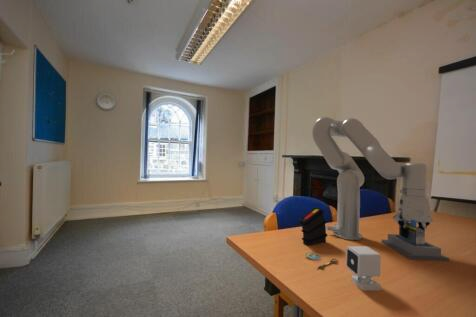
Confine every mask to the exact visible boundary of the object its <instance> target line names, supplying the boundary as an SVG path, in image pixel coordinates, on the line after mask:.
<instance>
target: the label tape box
mask: <svg viewBox="0 0 476 317" xmlns="http://www.w3.org/2000/svg"><path fill="white" fill-rule="evenodd" d="M399 219H400V218H399ZM400 221H401V219H400ZM404 222H405V221H404ZM417 225H418V223H417V221H416V220H413V222H408V225H407V227H406V228H408V238H405V237H403V236H401V234H400V228H401V226H399V225H398V226H399V227H398V234H399V238H400V239H402V240H404V241H406V242H408V243H410V244H412V245H414V246H425V242H426V233H425V232H426V230H425V231H424V230H422V229H420V228H418V227H419V226H417Z"/></svg>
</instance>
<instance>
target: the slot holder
mask: <svg viewBox="0 0 476 317" xmlns="http://www.w3.org/2000/svg"><path fill="white" fill-rule="evenodd" d="M381 243H382V244H384V245H385V246H387V247H389V248H391V249H392V250H393V251H395V252H396V253H398V254H400V255H402V256H403V257H405V258H406V259H409V260H416V261H417V260H418V261H434V262H449V261H450V258H449V257H447V256H446V255H443V254H442V248H441V247H439V246H436V245H434V244H432V243H430V242H427V241H425V246H414V245H412V244H410V243H408V242H406V241H404V240H402V239H400V238H399V233H398V234H397V233H387V239H381Z"/></svg>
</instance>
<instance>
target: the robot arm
mask: <svg viewBox="0 0 476 317" xmlns="http://www.w3.org/2000/svg"><path fill="white" fill-rule="evenodd" d="M311 133H312V140H313V141H314V143H315V145H316V148H318V149H319V151H320V153H321V155H322V157H323V158H324V160H325V161H326V163H327V165H328V166H329V167H330V169H332V170H336V171H337V172H338V176H337V179H336V186H337V210H336V211H337V213H336V214H337V215H336V217H337V218H336V223H335V224H334V225H333V226H331V225H326V226H325V227H326V231H331V232H332V233H333V236H335V237H338V238H340V239H342V240H343V239H344V240H348V241H360V240H363V235H362V234H361V233H360V214H361V213H360V212H361V211H360V210H361V209H360V208H361V192H360V190H361V189H360V187H362V186H363V185H364V183H365V176H364V173H363V171H362V170H361V169H360V168H359V166H358V164H357V163H356V161H355V160H354V159H353V157H352V156H351V155H350V154H349V153H348V152H345V151H342V149H341V148H340V147H339V145H338V143H337V142H336V141H335V138H333V137H341V138H347V139H348V140H349V141H350V142H351V143H352V144H353V145H354V146H355V148H356V149H357V150H358V151H359V152H360V154H361V155H362V156H363V157H364V158H365V159H366V160H367V161H368V163H369V164H370V166H372V167H373V169H375V171H377V173H378V174H379V175H380V176H381V177H382V178H384V179H386V180H395V179H402V184H401V186H402V188H401V189H399V193H401V194H400V196H399V200H398V205H397V213H396V214H394V215H393V216H392V219H393V220H394V221H395V222H396V223H397V224H398V226H401V228H400V234H401V236H403V237H405V238H408V228H406V227H407V225H408V222H409V223H410V222H413V220H416V221H417V227H418V228H420V229H422V230H424V231H425V232H426V230H427V228H428V226H429V225H430V224H431V223H432V222H433V221H434V219H433V217H432V216H431V206H430V201H429V197H427V165H426V163H424V162H423V163H422V162H398V161H396V160H395V159H393V157H391V155H390V154H388V152H387V151H385V149H384V148H383V146H381V144H380V141H379V139H377V138H376V137H375V136H374V134H372V133H371V132H370V130H368V128H366V126H364V124H363V123H362V121H360V120H359V119H357V118H354V117H351V118H350V117H349V118H347V119H345V120H335V119H333V118H331V117H328V116H323V117H319V118H318V119H317V120H316V121H315V122H314V124H313V127H312V132H311ZM400 219H401V221H400ZM404 221H405V222H404Z"/></svg>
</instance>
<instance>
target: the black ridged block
mask: <svg viewBox="0 0 476 317" xmlns="http://www.w3.org/2000/svg"><path fill="white" fill-rule="evenodd" d="M324 212H325V211H324V210H323V209H322V207H318V206H314V208H313V209H311V210H309V211H308V212H307V213H305V215H303V216H302V217H301V218H299V222H298V223H299V224H300V225H301V228H302V229H301V232H302V237H301V240H302V244H304V245H305V246H307V247H309V246H313V245H318V244H323V243H324V244H325V243H326V242H327V237H328V233H326V232H327V228H326V227H327V226H326V224H327V220H325V217H324Z"/></svg>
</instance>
